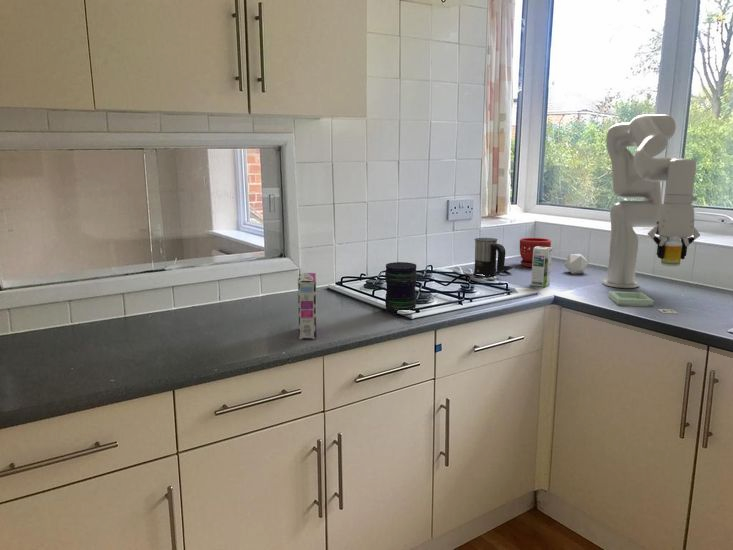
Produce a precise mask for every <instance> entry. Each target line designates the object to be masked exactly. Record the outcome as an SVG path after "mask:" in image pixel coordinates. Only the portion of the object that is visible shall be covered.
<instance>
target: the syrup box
mask: <svg viewBox="0 0 733 550" xmlns="http://www.w3.org/2000/svg"><path fill="white" fill-rule="evenodd" d="M552 257H553V247H540V246H536V247H534V248H533V262H532V267H531V281H530V286H533V287H534V286H536V287H543V288H546V287H548V286H549V285H550V284H551V273H552Z"/></svg>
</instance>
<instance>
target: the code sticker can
mask: <svg viewBox="0 0 733 550" xmlns="http://www.w3.org/2000/svg"><path fill="white" fill-rule="evenodd" d="M657 310H658V311H659V312H661V314H677V311H676V310H674V309H669V308H668V309H667V308H657Z"/></svg>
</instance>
